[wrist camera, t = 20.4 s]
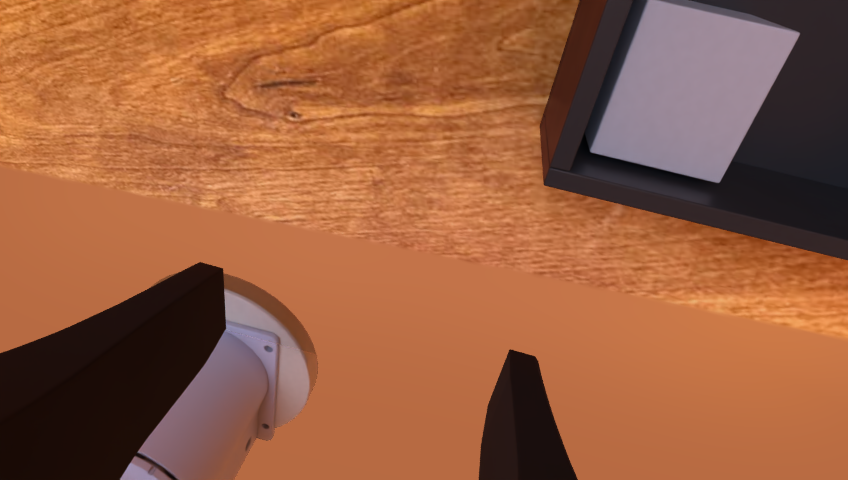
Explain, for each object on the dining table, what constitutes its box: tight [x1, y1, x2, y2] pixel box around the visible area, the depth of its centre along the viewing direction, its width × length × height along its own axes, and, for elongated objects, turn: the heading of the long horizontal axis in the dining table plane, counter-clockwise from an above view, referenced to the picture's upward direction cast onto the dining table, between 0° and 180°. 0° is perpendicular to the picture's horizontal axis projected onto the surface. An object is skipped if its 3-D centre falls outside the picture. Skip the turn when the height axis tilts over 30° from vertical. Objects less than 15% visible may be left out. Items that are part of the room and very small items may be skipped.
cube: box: [584, 0, 800, 183], centre depth 16 cm, size 4×4×4 cm
